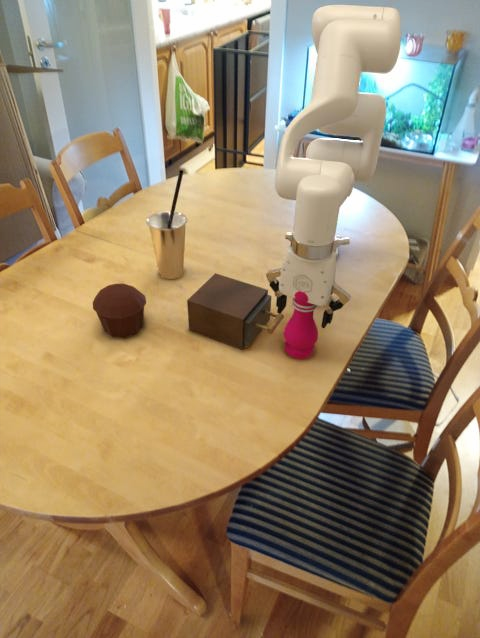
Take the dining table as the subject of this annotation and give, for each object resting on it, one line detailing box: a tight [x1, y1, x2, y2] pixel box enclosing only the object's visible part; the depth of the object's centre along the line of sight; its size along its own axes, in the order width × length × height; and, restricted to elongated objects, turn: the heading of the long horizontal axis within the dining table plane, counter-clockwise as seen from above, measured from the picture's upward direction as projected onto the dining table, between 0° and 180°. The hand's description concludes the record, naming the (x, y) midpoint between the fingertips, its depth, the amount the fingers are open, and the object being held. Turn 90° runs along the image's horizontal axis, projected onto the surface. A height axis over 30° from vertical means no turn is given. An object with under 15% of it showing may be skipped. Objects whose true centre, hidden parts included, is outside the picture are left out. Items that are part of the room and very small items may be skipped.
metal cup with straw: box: [145, 169, 188, 280], centre depth 115 cm, size 11×11×30 cm
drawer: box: [244, 294, 285, 348], centre depth 104 cm, size 17×11×7 cm, turn 62°
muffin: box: [92, 283, 147, 339], centre depth 105 cm, size 12×11×10 cm
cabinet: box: [186, 273, 269, 351], centre depth 106 cm, size 14×12×9 cm
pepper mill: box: [283, 290, 319, 360], centre depth 96 cm, size 7×7×20 cm
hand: (303, 316), depth 97 cm, fingers open, 9 cm apart
